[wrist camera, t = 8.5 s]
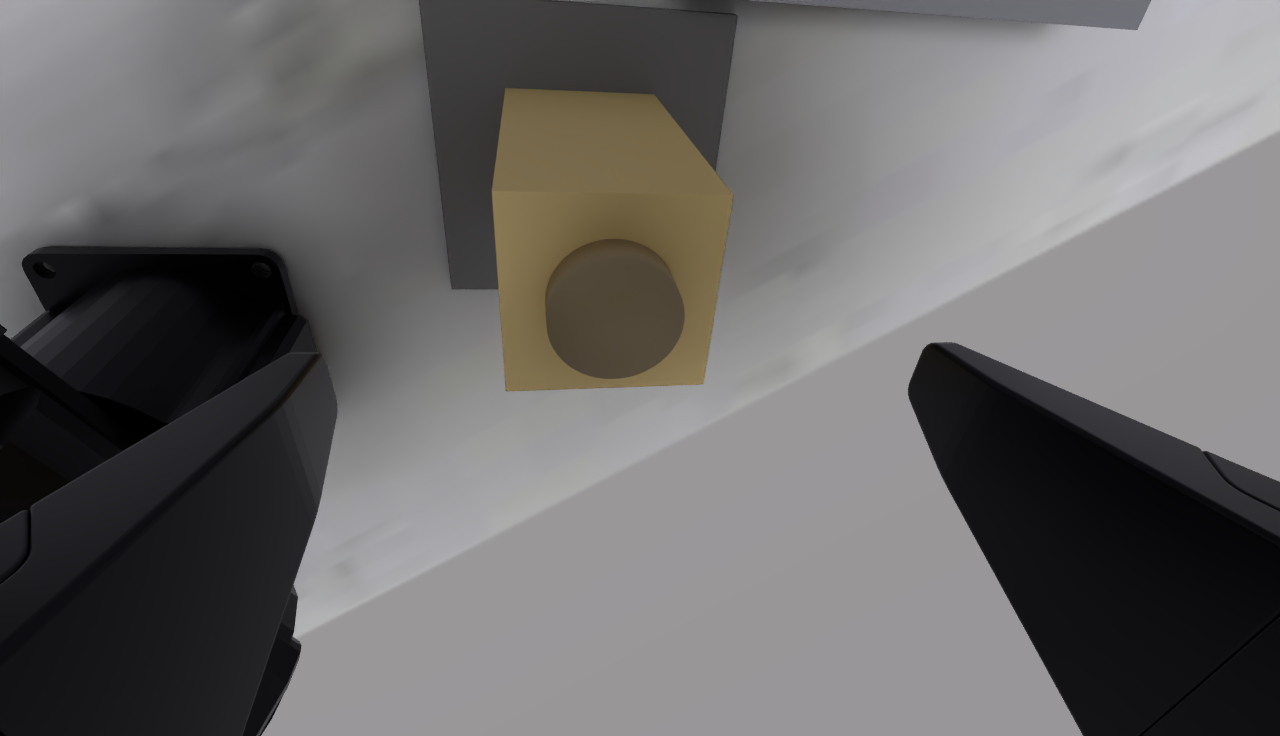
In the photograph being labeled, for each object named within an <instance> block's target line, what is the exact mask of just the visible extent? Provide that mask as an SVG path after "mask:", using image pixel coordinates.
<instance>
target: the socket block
mask: <svg viewBox="0 0 1280 736" xmlns="http://www.w3.org/2000/svg"><path fill="white" fill-rule="evenodd" d="M750 1H763V2H776V3H789V4H802V5H815V6H828V7H841V8H854V9H867V10H880V11H894V12H907V13H920V14H933V15H946V16H959V17H972V18H985V19H998V20H1011V21H1024V22H1037V23H1050V24H1063V25H1076V26H1089V27H1102V28H1116V29H1129V30H1137V29H1138V27H1139V25H1140V23H1141V21H1142V19H1143V17H1144V14H1145V12H1146V10H1147V8H1148V6H1149V4H1150V2H1151V0H750Z"/></svg>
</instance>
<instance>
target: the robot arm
mask: <svg viewBox="0 0 1280 736" xmlns="http://www.w3.org/2000/svg"><path fill="white" fill-rule="evenodd" d="M43 262H44V263H47V264H49V265H51V266H52V267H53V268H54V269H55V272H53V271H51V270H49V269H47V268H46V267H45V266H44V265H43ZM258 262H260V263H264V264H266V265H267V266H269V268H270V270H271V272H264V271H262V270H261V269H259V268H258V266H257V264H256V263H258ZM22 267H23V270H24V272H25V274H26V276H27V277H28V279H29V281H30V283H31V285H32V287H33V288H34V290H35V292H36V294H37V296H38V297H39V299H40V301H41V303H42V305H43V307H44V308H45V310H46V312H45V313H43V314H42V315H41V316H39V317H38V318H37V319H36V320H34V321H33V322H32V323H31V324H29V325H28V326H27V327H26V328H24V329H23V330H22V331H20V332H19V333H18V334H17V335H15V336H14V337H13V338H12V339H9V338H8V337H6V336H5V335H4V333H5V332H6V331H7V329H5V328H4V327H3V326H2V325H0V736H261V735H262V733H263V732H264V730H265V728H266V727H267V725H268V724H269V722H270V721H271V719H272V717H273V715H274V713H275V711H276V709H277V707H278V705H279V703H280V701H281V699H282V697H283V695H284V693H285V691H286V689H287V687H288V685H289V683H290V680H291V678H292V675H293V673H294V670H295V668H296V666H297V663H298V660H299V657H300V652H301V644H300V641H298V640H297V639H295V638H294V637H292V636H293V633H294V627H295V618H296V609H297V600H298V596H297V593H296V590H295V588H294V585H293V584H294V581H295V578H296V575H297V572H298V569H299V566H300V563H301V560H302V557H303V554H304V552H305V549H306V546H307V543H308V540H309V537H310V534H311V531H312V528H313V525H314V522H315V518H316V515H317V512H318V508H319V503H320V499H321V495H322V489H323V484H324V479H325V474H326V469H327V464H328V459H329V454H330V449H331V444H332V439H333V434H334V429H335V424H336V419H337V400H336V396H335V392H334V389H333V385H332V381H331V377H330V374H329V370H328V366H327V363H326V360H325V358H324V357H323V355H321V354H320V353H318V352H317V351H316V348H315V344H314V340H313V337H312V333H311V329H310V326H309V322H308V321H307V320H306V319H305V318H304V317H303V316H302V315H300V314H298V311H297V308H296V304H295V301H294V297H293V294H292V290H291V286H290V283H289V279H288V276H287V272H286V269H285V265H284V263H283V261H282V259H281V258H280V257H279V256H278V255H277V254H276V253H274V252H272V251H270V250H266V249H225V248H52V247H45V248H39V249H36V250H35V251H33V252H32V253H30V254H29V255H27V256H26V257H25V258H23V261H22ZM908 396H909V400H910V402H911V405H912V407H913V410H914V412H915V414H916V417H917V419H918V422H919V424H920V426H921V429H922V431H923V434H924V436H925V438H926V441H927V443H928V445H929V448H930V450H931V453H932V455H933V458H934V460H935V462H936V464H937V467H938V469H939V471H940V474H941V476H942V478H943V480H944V482H945V484H946V485H947V488H948V490H949V492H950V493H951V495H952V497H953V499H954V501H955V503H956V504H957V506H958V508H959V510H960V512H961V513H962V515H963V517H964V519H965V521H966V522H967V524H968V526H969V528H970V530H971V532H972V534H973V535H974V537H975V539H976V541H977V543H978V545H979V546H980V548H981V550H982V552H983V553H984V555H985V557H986V559H987V561H988V563H989V564H990V567H991V568H992V570H993V572H994V573H995V576H996V577H997V579H998V581H999V583H1000V585H1001V586H1002V588H1003V590H1004V592H1005V594H1006V596H1007V598H1008V599H1009V601H1010V603H1011V605H1012V607H1013V609H1014V610H1015V612H1016V614H1017V616H1018V618H1019V620H1020V621H1021V623H1022V625H1023V627H1024V629H1025V630H1026V632H1027V634H1028V636H1029V638H1030V640H1031V641H1032V643H1033V645H1034V647H1035V649H1036V651H1037V652H1038V654H1039V656H1040V658H1041V659H1042V661H1043V663H1044V665H1045V667H1046V669H1047V671H1048V673H1049V674H1050V676H1051V678H1052V680H1053V682H1054V683H1055V685H1056V687H1057V689H1058V691H1059V693H1060V694H1061V696H1062V698H1063V700H1064V702H1065V703H1066V705H1067V707H1068V709H1069V711H1070V713H1071V715H1072V716H1073V718H1074V720H1075V722H1076V724H1077V725H1078V727H1079V729H1080V731H1081V733H1082V735H1083V736H1280V482H1279V481H1276V480H1274V479H1272V478H1269V477H1267V476H1264V475H1262V474H1259V473H1257V472H1255V471H1252V470H1250V469H1247V468H1245V467H1243V466H1240V465H1238V464H1236V463H1233V462H1231V461H1229V460H1226V459H1224V458H1222V457H1219V456H1217V455H1215V454H1212V453H1210V452H1208V451H1203V452H1202V451H1201V449H1200V448H1198V447H1196V446H1193V445H1191V444H1189V443H1187V442H1184V441H1182V440H1180V439H1177V438H1175V437H1173V436H1170V435H1168V434H1165V433H1164V432H1161V431H1159V430H1156V429H1154V428H1152V427H1150V426H1147V425H1145V424H1143V423H1140V422H1138V421H1136V420H1133V419H1131V418H1129V417H1126V416H1124V415H1122V414H1119V413H1117V412H1115V411H1112V410H1110V409H1108V408H1106V407H1103V406H1100V405H1098V404H1096V403H1094V402H1092V401H1089V400H1087V399H1085V398H1082V397H1080V396H1078V395H1075V394H1073V393H1071V392H1068V391H1066V390H1064V389H1061V388H1059V387H1057V386H1054V385H1052V384H1050V383H1047V382H1045V381H1043V380H1040V379H1038V378H1036V377H1034V376H1031V375H1029V374H1026V373H1024V372H1022V371H1020V370H1017V369H1015V368H1013V367H1010V366H1008V365H1006V364H1003V363H1001V362H999V361H996V360H994V359H992V358H989V357H987V356H985V355H982V354H980V353H978V352H975V351H973V350H971V349H968V348H966V347H964V346H962V345H959V344H957V343H952V342H943V343H930V344H928V345H927V346H926V347H925V348H924V349H923V351H922V353H921V356H920V358H919V360H918V363H917V365H916V368H915V370H914V373H913V375H912V378H911V380H910V383H909V387H908Z"/></svg>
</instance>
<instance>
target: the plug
mask: <svg viewBox="0 0 1280 736" xmlns="http://www.w3.org/2000/svg"><path fill="white" fill-rule="evenodd" d="M492 201H493V216H494V230H495V244H496V258H497V272H498V286H499V300H500V315H501V329H502V343H503V357H504V371H505V385H506V391H530V390H558V389H587V388H615V387H643V386H671V385H699V384H704V377H705V371H706V365H707V358H708V352H709V346H710V340H711V333H712V327H713V321H714V314H715V308H716V302H717V296H718V289H719V283H720V277H721V270H722V264H723V258H724V252H725V245H726V239H727V233H728V226H729V220H730V214H731V207H732V201H733V194H732V192H731V191H730V190H729V189H728V187H727V186H726V185H725V184H724V182H723V181H722V180H721V179H720V177H719V176H718V175H717V173H716V172H715V171H714V170H713V168H712V167H711V166H710V165H709V163H708V162H707V161H706V160H705V158H704V157H703V156H702V154H701V153H700V152H699V151H698V149H697V148H696V147H695V146H694V144H693V143H692V142H691V140H690V139H689V138H688V137H687V135H686V134H685V133H684V132H683V130H682V129H681V128H680V127H679V125H678V124H677V123H676V121H675V120H674V119H673V118H672V116H671V115H670V114H669V113H668V111H667V110H666V109H665V108H664V106H663V105H662V104H661V102H660V101H659V100H658V99H657V97H656V96H655V95H654V94H634V93H611V92H588V91H565V90H541V89H518V88H505V95H504V103H503V110H502V118H501V125H500V133H499V140H498V148H497V155H496V163H495V170H494V178H493V186H492Z"/></svg>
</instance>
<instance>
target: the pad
mask: <svg viewBox="0 0 1280 736" xmlns="http://www.w3.org/2000/svg"><path fill="white" fill-rule="evenodd" d="M419 5H420V14H421V23H422V32H423V40H424V49H425V58H426V67H427V76H428V84H429V93H430V102H431V111H432V120H433V128H434V137H435V146H436V155H437V164H438V172H439V181H440V190H441V199H442V208H443V216H444V225H445V234H446V243H447V252H448V260H449V269H450V278H451V287H452V289H499V286H498V272H497V258H496V244H495V230H494V216H493V201H492V186H493V178H494V170H495V163H496V155H497V148H498V140H499V133H500V125H501V118H502V110H503V103H504V95H505V88H518V89H541V90H565V91H588V92H611V93H634V94H654V95H655V96H656V97H657V99H658V100H659V101H660V102H661V104H662V105H663V106H664V108H665V109H666V110H667V111H668V113H669V114H670V115H671V116H672V118H673V119H674V120H675V121H676V123H677V124H678V125H679V127H680V128H681V129H682V130H683V132H684V133H685V134H686V135H687V137H688V138H689V139H690V140H691V142H692V143H693V144H694V146H695V147H696V148H697V149H698V151H699V152H700V153H701V154H702V156H703V157H704V158H705V160H706V161H707V162H708V163H709V165H710V166H711V167H712V168H713V170H714V171H715V170H716V163H717V156H718V149H719V142H720V135H721V128H722V121H723V114H724V107H725V100H726V93H727V86H728V79H729V72H730V66H731V59H732V52H733V45H734V38H735V31H736V24H737V17H738V15H736V14H731V13H718V12H704V11H690V10H676V9H662V8H649V7H635V6H621V5H607V4H594V3H580V2H566V1H552V0H419Z"/></svg>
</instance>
